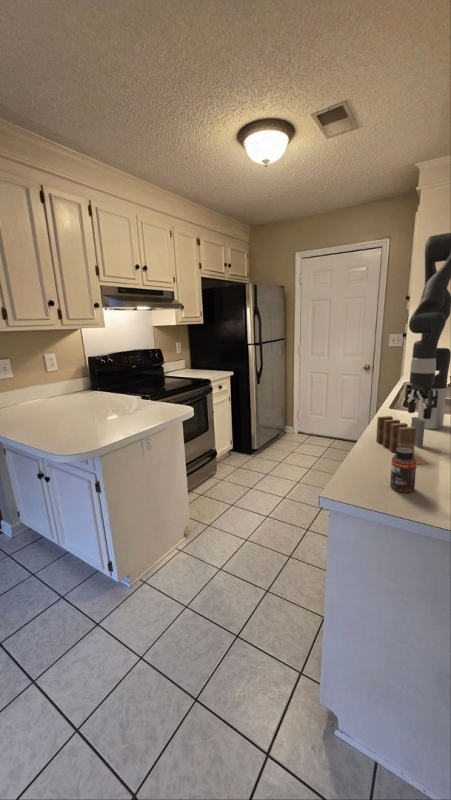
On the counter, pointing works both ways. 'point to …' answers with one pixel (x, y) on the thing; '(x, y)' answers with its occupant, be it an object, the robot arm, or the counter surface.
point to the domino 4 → (406, 438)
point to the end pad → (420, 461)
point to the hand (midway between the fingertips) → (418, 415)
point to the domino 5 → (418, 431)
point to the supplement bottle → (403, 470)
